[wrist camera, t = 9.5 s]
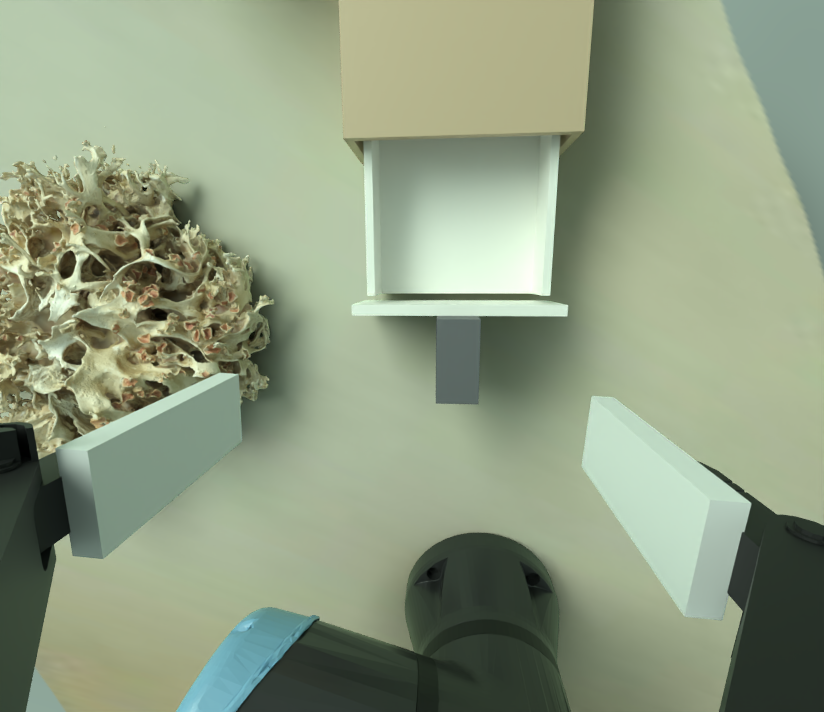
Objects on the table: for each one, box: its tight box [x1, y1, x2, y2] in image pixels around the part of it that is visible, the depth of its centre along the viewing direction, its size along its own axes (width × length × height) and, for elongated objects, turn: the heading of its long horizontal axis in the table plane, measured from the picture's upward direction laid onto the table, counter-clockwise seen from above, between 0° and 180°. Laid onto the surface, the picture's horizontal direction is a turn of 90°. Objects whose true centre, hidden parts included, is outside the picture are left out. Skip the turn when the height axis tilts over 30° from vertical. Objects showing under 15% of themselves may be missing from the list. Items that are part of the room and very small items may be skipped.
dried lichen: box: [0, 126, 274, 459], centre depth 34 cm, size 27×30×11 cm
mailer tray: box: [352, 135, 568, 404], centre depth 30 cm, size 26×16×8 cm, turn 0°
